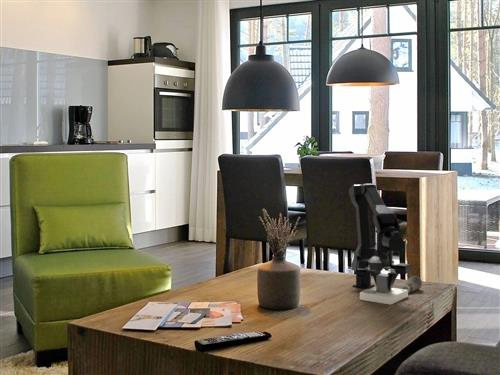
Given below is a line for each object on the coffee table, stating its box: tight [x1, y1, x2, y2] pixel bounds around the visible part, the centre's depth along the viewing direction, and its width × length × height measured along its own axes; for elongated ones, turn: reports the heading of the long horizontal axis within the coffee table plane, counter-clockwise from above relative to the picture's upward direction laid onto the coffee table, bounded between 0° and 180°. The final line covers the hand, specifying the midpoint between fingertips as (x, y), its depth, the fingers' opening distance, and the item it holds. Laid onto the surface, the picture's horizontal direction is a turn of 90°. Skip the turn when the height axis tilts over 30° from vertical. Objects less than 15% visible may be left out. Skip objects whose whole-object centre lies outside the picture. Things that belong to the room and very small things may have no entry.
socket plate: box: [359, 285, 409, 305], centre depth 251 cm, size 14×12×3 cm
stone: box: [401, 275, 423, 294], centre depth 262 cm, size 10×5×8 cm
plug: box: [375, 272, 391, 294], centre depth 251 cm, size 4×4×7 cm
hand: (383, 289), depth 251 cm, fingers closed on plug, 4 cm apart
